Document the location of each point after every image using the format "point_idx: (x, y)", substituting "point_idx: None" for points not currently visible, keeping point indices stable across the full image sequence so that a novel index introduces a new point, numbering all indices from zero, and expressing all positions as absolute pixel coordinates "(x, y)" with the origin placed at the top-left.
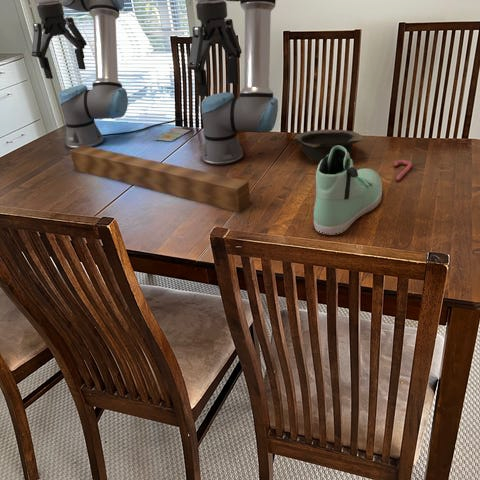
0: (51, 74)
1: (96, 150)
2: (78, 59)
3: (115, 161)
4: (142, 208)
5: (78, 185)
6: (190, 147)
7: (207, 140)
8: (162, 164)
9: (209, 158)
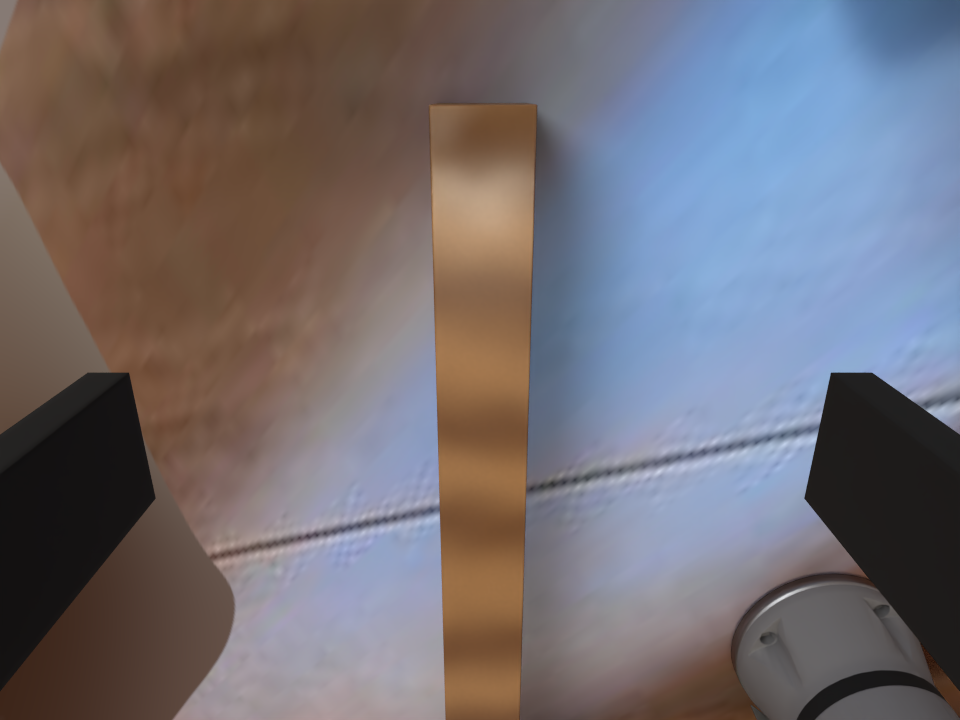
0: (112, 535)
1: (505, 281)
2: (928, 522)
3: (439, 488)
4: (323, 651)
5: (317, 296)
6: None
7: (800, 706)
8: (504, 683)
9: (743, 661)
